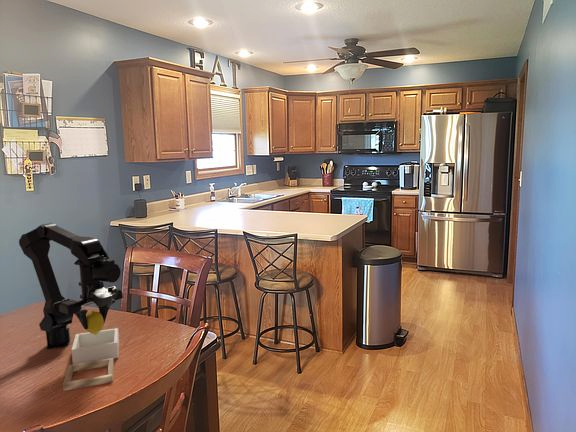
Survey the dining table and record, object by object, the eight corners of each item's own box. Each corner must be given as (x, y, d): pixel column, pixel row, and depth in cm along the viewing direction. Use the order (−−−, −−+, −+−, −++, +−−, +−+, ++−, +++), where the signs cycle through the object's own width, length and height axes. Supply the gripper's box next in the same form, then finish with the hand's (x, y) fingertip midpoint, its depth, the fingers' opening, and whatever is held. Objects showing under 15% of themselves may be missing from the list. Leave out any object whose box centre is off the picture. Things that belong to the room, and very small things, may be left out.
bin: (73, 365, 136) (71, 349, 136) (77, 348, 149) (76, 334, 148) (118, 357, 141) (117, 342, 140) (119, 342, 153) (118, 328, 152)
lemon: (83, 334, 144) (81, 310, 143) (101, 329, 148) (99, 306, 147) (89, 339, 140) (86, 315, 139) (107, 334, 144) (105, 310, 142)
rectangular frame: (63, 390, 122) (63, 384, 121) (69, 370, 133) (68, 364, 133) (112, 381, 126) (112, 375, 125) (113, 363, 137) (113, 357, 137)
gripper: (75, 290, 129) (80, 342, 131) (131, 275, 144) (135, 321, 146) (55, 284, 136) (60, 334, 138) (111, 270, 151) (114, 315, 153)
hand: (94, 326), depth 143 cm, fingers closed on lemon, 6 cm apart
